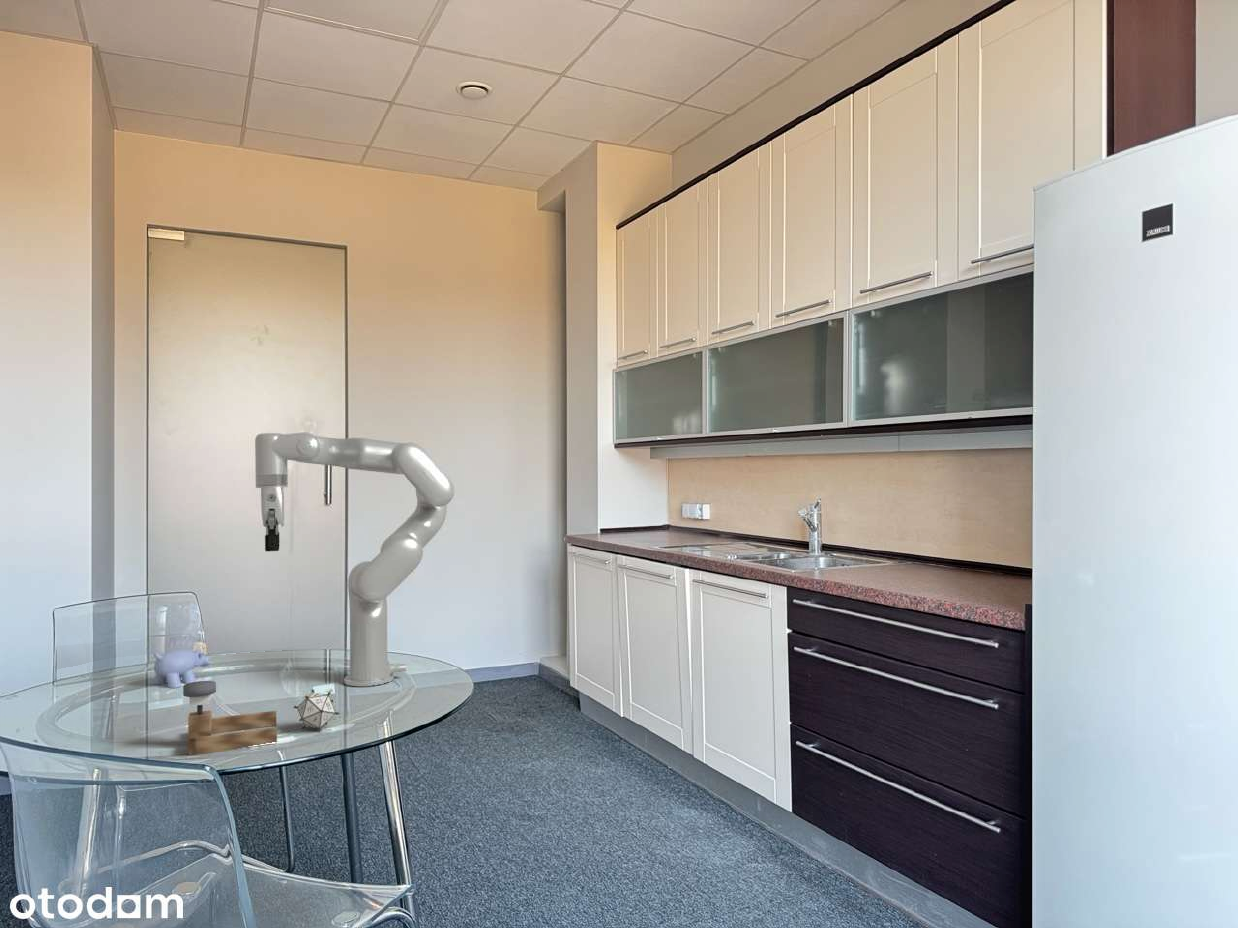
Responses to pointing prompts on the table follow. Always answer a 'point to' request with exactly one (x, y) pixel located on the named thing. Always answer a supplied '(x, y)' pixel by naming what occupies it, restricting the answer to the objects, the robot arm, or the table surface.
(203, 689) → the wheel
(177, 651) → the hippopotamus toy
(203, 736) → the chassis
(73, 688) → the table surface
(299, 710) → the game die
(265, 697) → the table surface
